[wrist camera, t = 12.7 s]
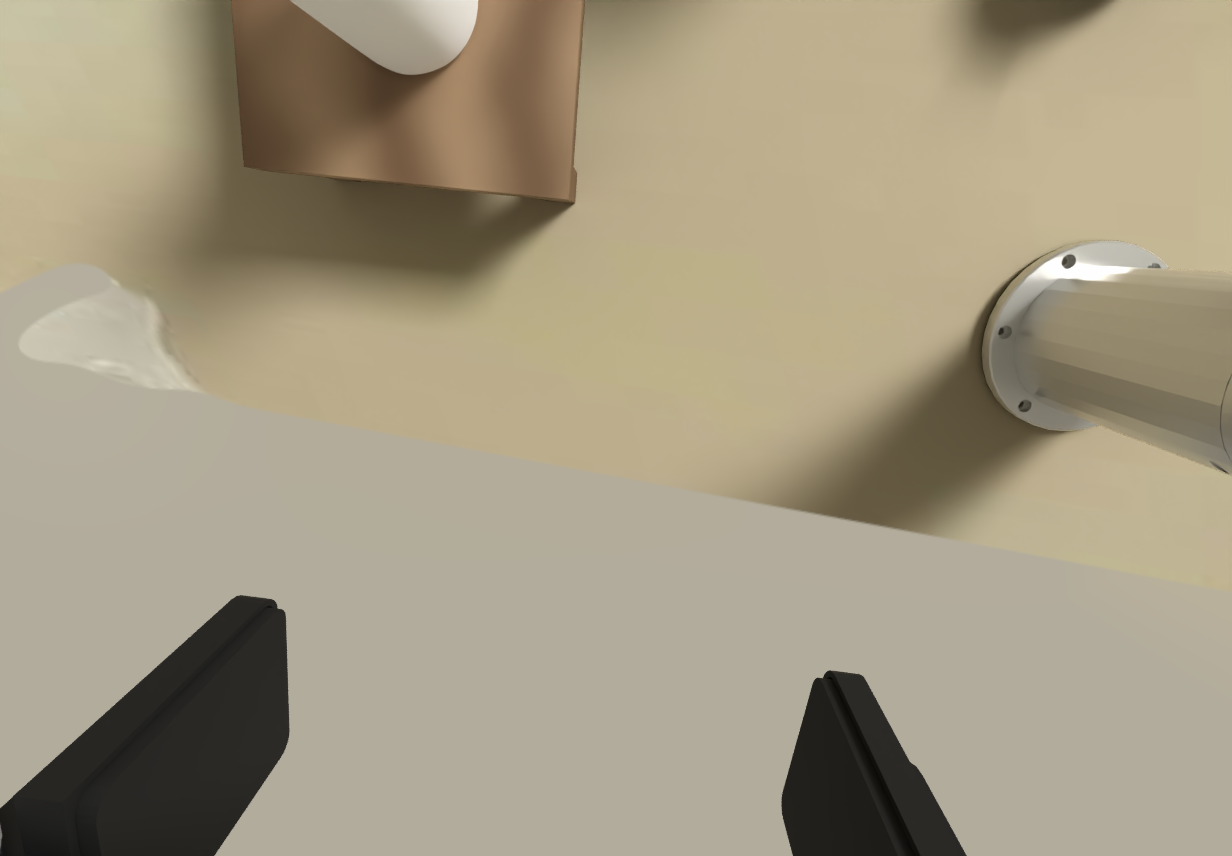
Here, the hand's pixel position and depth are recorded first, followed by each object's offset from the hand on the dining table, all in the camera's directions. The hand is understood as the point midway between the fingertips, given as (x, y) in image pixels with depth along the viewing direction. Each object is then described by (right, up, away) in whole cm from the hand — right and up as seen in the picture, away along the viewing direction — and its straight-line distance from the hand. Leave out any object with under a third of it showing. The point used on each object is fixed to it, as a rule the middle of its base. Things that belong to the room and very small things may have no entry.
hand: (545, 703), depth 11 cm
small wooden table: (-8, +27, +26) cm, 38 cm away
